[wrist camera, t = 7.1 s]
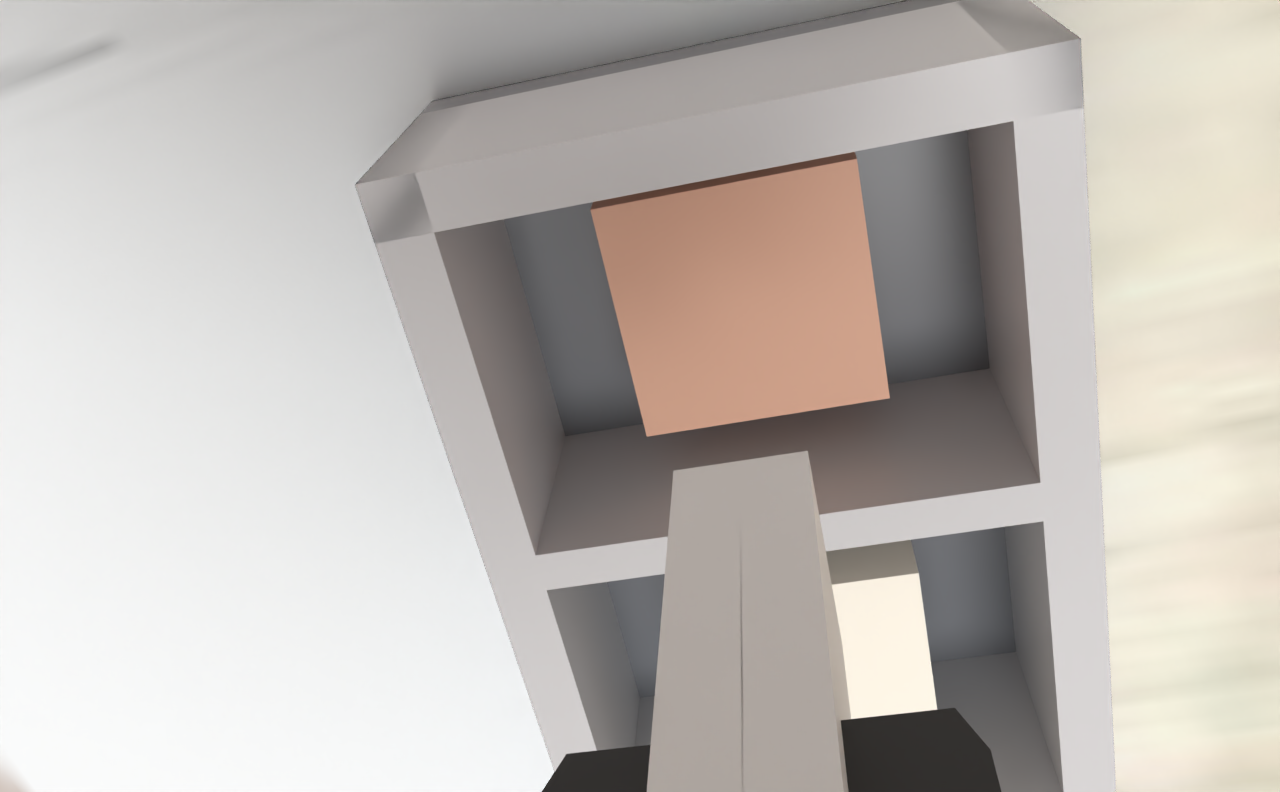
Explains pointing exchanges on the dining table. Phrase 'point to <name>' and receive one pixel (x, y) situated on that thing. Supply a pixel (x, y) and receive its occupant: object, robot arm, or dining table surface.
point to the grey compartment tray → (834, 437)
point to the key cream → (882, 629)
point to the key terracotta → (745, 295)
